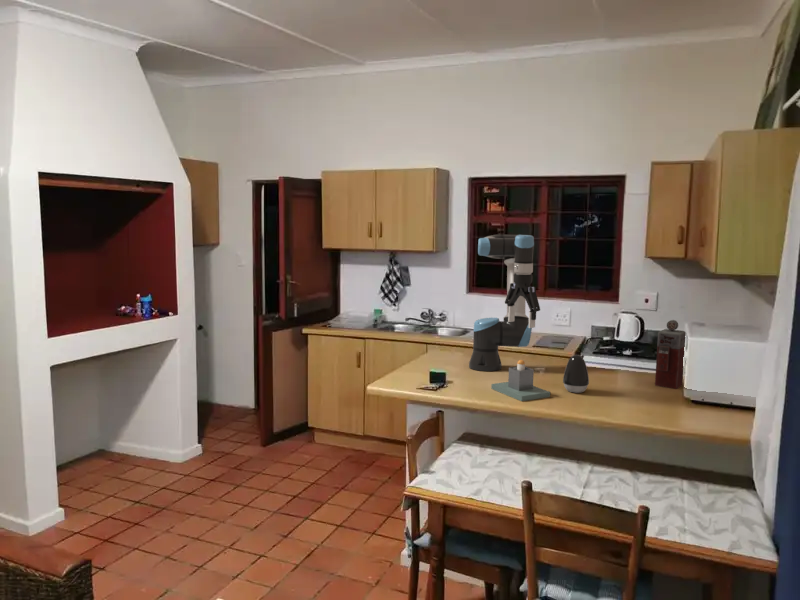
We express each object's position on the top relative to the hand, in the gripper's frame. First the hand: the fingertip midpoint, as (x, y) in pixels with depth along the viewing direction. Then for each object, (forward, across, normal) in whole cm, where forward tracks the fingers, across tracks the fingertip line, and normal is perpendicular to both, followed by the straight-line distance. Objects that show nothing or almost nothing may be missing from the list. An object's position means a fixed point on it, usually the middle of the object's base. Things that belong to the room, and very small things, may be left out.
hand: (521, 324), depth 266 cm
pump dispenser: (+26, +16, +16) cm, 35 cm away
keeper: (+26, +8, -6) cm, 28 cm away
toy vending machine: (+27, +26, +58) cm, 69 cm away
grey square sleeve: (+24, +8, -6) cm, 26 cm away
